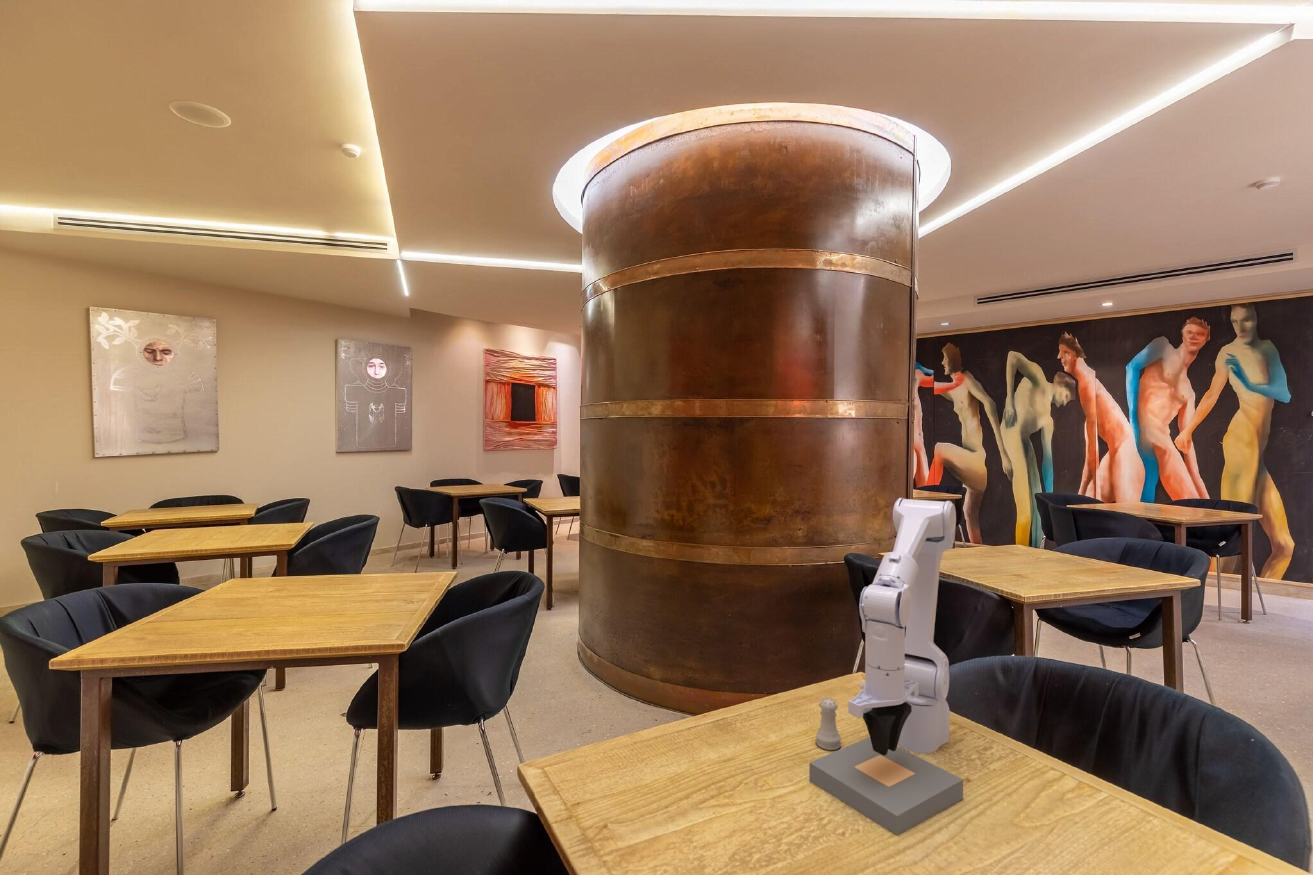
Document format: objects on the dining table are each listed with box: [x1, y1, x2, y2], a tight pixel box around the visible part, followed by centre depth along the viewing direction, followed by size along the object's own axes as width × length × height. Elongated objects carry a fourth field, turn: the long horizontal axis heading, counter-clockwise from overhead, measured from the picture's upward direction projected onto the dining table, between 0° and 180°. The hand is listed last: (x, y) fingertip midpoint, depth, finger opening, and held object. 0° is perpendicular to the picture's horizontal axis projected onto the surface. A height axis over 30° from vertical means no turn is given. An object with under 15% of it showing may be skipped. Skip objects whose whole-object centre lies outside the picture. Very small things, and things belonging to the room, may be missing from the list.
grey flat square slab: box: [808, 736, 964, 836], centre depth 95 cm, size 16×16×3 cm
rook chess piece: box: [815, 696, 842, 751], centre depth 108 cm, size 4×4×8 cm
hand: (884, 750), depth 95 cm, fingers closed
